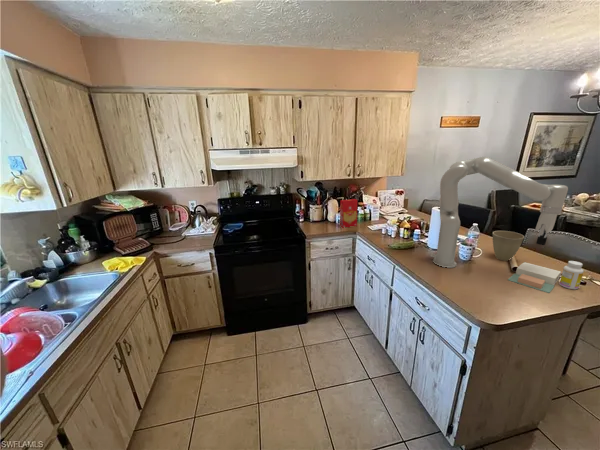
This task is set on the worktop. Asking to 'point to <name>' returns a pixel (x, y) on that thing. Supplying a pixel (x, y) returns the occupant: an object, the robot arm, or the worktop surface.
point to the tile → (531, 281)
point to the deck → (539, 272)
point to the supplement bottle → (572, 275)
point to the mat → (545, 288)
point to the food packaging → (348, 213)
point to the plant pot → (506, 244)
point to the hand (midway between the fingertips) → (540, 244)
